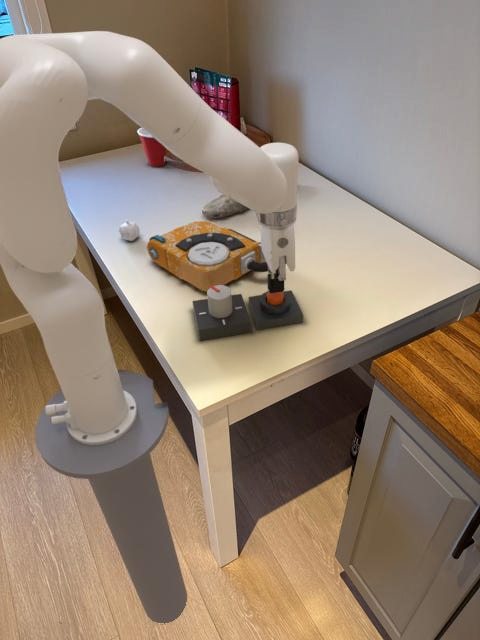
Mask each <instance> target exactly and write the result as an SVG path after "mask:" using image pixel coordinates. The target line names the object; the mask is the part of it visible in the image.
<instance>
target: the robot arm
mask: <svg viewBox="0 0 480 640" xmlns="http://www.w3.org/2000/svg"><path fill="white" fill-rule="evenodd" d="M93 100H102V101H103V102H106V103H109V104H111V105H113V107H115V108H117V109H118V110H119V111H120V112H122V113H123V114H125V116H127V117H128V118H129V119H130V120H132V121H133V122H134V123H135V124H136V125H138V126H139V127H140V128H143V129H144V130H145V131H147V132H148V133H149V134H150V135H151V136H153V137H154V138H155V139H156V140H157V141H158V142H159V143H161V144H162V145H163V146H164V147H165V148H166V150H168V151H169V152H170V153H171V154H172V155H174V156H175V157H177V158H178V159H180V160H181V161H182V162H185V164H187V165H189V166H191V167H193V168H195V169H196V170H198V171H200V172H202V173H204V174H206V175H208V176H210V181H211V184H212V186H213V187H214V188H215V190H216V191H217V192H218V193H220V194H221V195H225V196H227V197H229V198H230V199H232V200H234V201H236V202H238V203H240V204H242V205H244V206H246V207H248V208H247V209H249V210H251V211H253V212H254V213H256V221H257V223H258V225H260V242H261V248H262V252H263V255H264V258H265V259H264V260H265V262H267V265H268V271H267V291H269V292H270V293H277V292H283V291H285V281H287V273H286V271H287V270H286V269H287V268H286V266H287V267H288V270H289V271H290V272H295V270H296V237H295V227H294V225H295V223H296V222H297V213H298V211H297V209H298V186H299V185H298V184H299V183H298V182H299V160H300V159H299V151H298V150H297V148H296V147H295V146H294V145H292V144H290V143H286V142H269V143H266V144H263V145H262V146H260V147H259V145H257V144H256V143H255V142H254V141H252V140H251V139H250V138H249V137H248V136H246V135H244V134H243V133H242V132H241V131H240V130H239V129H238V128H236V127H235V126H233V125H232V123H230V122H229V121H228V119H226V118H225V117H223V116H221V115H220V114H219V113H218V112H217V111H216V110H214V109H213V108H211V107H210V105H209V104H208V103H207V102H205V100H204V99H203V98H202V97H201V96H200V95H199V94H198V93H197V92H196V91H195V90H194V89H193V88H192V87H191V86H190V85H189V84H188V83H187V81H185V80H184V78H183V77H182V76H181V75H180V74H179V73H177V71H176V70H175V69H174V68H173V66H171V65H170V64H169V63H168V62H167V61H166V60H165V59H164V58H163V57H162V56H161V54H160V53H158V52H157V51H156V50H155V48H153V47H151V45H149V44H148V43H146V42H144V41H143V40H141V39H139V38H137V37H136V38H135V37H133V36H128V35H124V34H120V33H117V32H112V31H108V30H92V31H91V30H90V31H89V30H88V31H77V32H76V31H75V32H73V31H72V32H54V33H51V32H50V33H27V34H26V33H25V34H12V35H7V36H4V37H1V38H0V267H1V269H2V271H3V274H4V276H5V279H6V281H7V283H8V285H9V287H10V288H11V291H12V292H13V294H14V296H16V297H17V299H18V300H19V301H20V303H21V304H22V306H23V308H24V309H25V310H26V312H27V313H28V314H29V316H30V317H31V318H32V320H33V322H34V324H35V326H36V327H37V329H38V331H39V334H40V337H41V339H42V342H43V346H44V350H45V353H46V356H47V358H48V360H49V363H50V365H51V368H52V370H53V371H54V374H55V377H56V380H57V382H58V384H59V387H60V390H61V389H62V392H63V394H64V397H65V399H66V401H64V403H62V404H53V405H47V406H46V405H45V406H46V407H45V406H44V407H45V411H46V415H47V416H51V415H57V414H60V413H65V415H62V416H54V417H52V418H51V421H52V424H59V423H63V422H66V426H67V429H68V432H69V433H70V435H71V437H72V438H73V439H74V440H76V441H78V442H79V443H82V444H85V445H102V444H107V443H110V442H112V441H114V440H116V439H118V438H120V437H121V436H123V435H124V434H125V433H126V432H127V431H128V430H129V429H130V428H131V427H132V425H133V424H134V422H135V420H136V416H137V406H136V403H135V400H134V398H133V397H132V396H131V395H130V394H129V393H128V392H126V391H124V390H123V388H122V385H121V381H120V378H119V374H118V371H117V370H118V368H117V364H116V361H115V357H114V354H113V350H112V346H111V344H110V339H109V336H108V333H107V328H106V320H105V307H104V303H103V300H102V297H101V296H100V294H99V292H98V290H97V289H96V287H95V286H94V285H93V284H92V282H91V281H90V280H89V279H88V278H87V277H86V276H85V275H84V274H83V273H82V272H81V271H80V270H79V269H78V268H77V267H76V266H74V264H73V263H72V262H73V260H74V258H75V257H76V253H77V249H78V236H77V229H76V226H75V223H74V220H73V217H72V213H71V210H70V206H69V202H68V198H67V196H66V192H65V189H64V185H63V180H62V174H61V171H60V162H59V155H60V149H61V146H62V143H63V142H64V140H65V137H66V136H67V135H68V133H69V132H70V131H71V130H72V128H73V127H74V125H75V124H77V122H78V121H79V120H80V119H81V117H82V116H83V114H84V112H85V109H86V107H87V104H88V101H93Z"/></svg>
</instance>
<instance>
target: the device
mask: <svg viewBox="0 0 480 640" xmlns="http://www.w3.org/2000/svg"><path fill="white" fill-rule="evenodd" d="M146 249H147V253H148V255H149V257H150V259H151V260H152V261H153V262H154V263H155V264H157V265H158V266H160V267H162V268H163V269H165V270H166V271H168V272H170V273H171V274H172V275H174V276H176V277H177V278H178V279H180V280H183V281H185V282H187V283H189V284H190V285H191V286H194V287H195V288H197V289H198V290H199V291H203V292H208V290H209V289H210V288H211V286H217V285H224V286H226V285H227V284H228V283H230V282H232V281H233V280H234V281H236V280H237V279H239V278H241V277H242V276H244V275H245V274H247V273H249V272H251V271H252V272H256V273H268V265H267V262H266V261H264V260H265V258H264V255H263V252H262V248H261V241H256V240H254V239H252V238H250V237H248V236H246V235H245V234H242V233H240V232H238V231H236V230H234V229H231V228H226V227H221V226H219V225H218V224H215V223H213V222H212V221H211V220H207V219H206V220H203V221H202V220H201V221H199V220H198V221H193V222H190V223H188V224H184V225H181V226H179V227H175V228H174V229H171V230H170V231H167V232H166V233H163V234H161V235H159V234H156V235H153V236H151V237H149V239H148V242H147V244H146ZM263 261H264V262H263Z"/></svg>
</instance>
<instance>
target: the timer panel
mask: <svg viewBox="0 0 480 640" xmlns="http://www.w3.org/2000/svg"><path fill="white" fill-rule="evenodd" d="M231 295H232V313H231V314H230V315H229V316H227V317H225V318H215V317H213V316H211V315H210V313H209V306H208V298H204V299H203V298H202V299H197V300H192V308H193V309H192V311H193V315H194V319H195V320H194V321H195V325H196V329H197V334H198V340H199V341H206V340H214V339H219V338H226V337H231V336H237V335H244V334H249V333H252V321H251V318H250V315H249V312H248V309H247V307H246V304H245V301H244V297H243V295H242V293H235V294H231Z"/></svg>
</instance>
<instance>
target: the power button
mask: <svg viewBox="0 0 480 640" xmlns="http://www.w3.org/2000/svg"><path fill="white" fill-rule="evenodd" d="M267 291H268V292H267ZM267 291H266V292H267V302H268V303H269V304H271V305H280V304H282V303H283V301H284V293H283V292H277V293H270V292H269V290H267Z"/></svg>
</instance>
